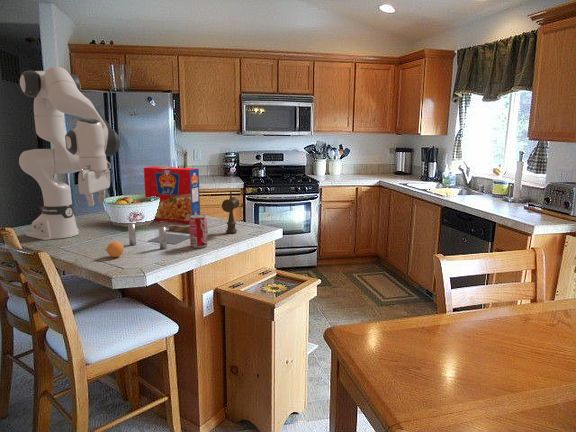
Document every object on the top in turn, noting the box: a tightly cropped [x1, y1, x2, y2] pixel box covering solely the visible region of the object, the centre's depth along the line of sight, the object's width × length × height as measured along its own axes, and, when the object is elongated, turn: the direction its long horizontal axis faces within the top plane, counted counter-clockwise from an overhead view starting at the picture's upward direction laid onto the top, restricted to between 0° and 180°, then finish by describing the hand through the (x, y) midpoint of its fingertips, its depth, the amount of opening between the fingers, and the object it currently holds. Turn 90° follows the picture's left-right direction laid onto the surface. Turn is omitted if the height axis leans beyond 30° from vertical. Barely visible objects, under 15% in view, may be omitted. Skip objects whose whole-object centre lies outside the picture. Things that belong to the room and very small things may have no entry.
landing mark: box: [148, 233, 190, 245], centre depth 189 cm, size 14×14×1 cm
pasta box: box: [143, 165, 201, 225], centre depth 223 cm, size 28×8×28 cm, turn 70°
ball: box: [106, 241, 125, 258], centre depth 162 cm, size 6×6×6 cm
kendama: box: [221, 190, 240, 234], centre depth 199 cm, size 6×10×20 cm, turn 169°
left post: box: [127, 223, 137, 247], centre depth 178 cm, size 3×3×9 cm
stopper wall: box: [168, 224, 208, 234], centre depth 201 cm, size 20×2×2 cm, turn 71°
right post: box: [158, 225, 168, 250], centre depth 173 cm, size 3×3×9 cm
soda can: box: [188, 214, 209, 249], centre depth 176 cm, size 7×7×13 cm
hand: (96, 203), depth 153 cm, fingers open, 8 cm apart
